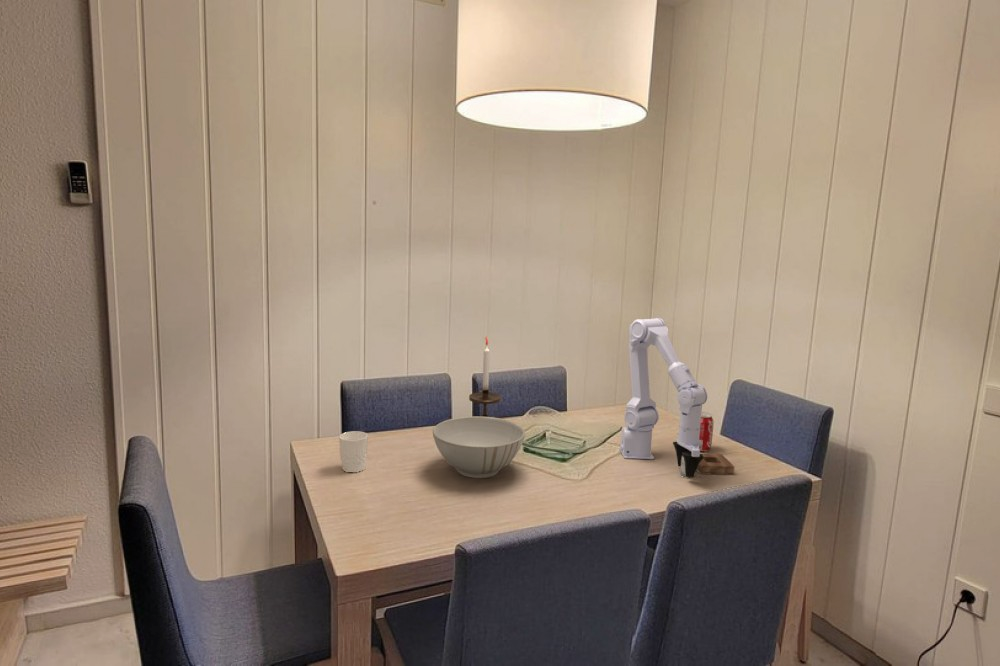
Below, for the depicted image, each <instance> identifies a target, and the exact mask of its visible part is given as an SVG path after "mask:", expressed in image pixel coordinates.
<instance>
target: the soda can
mask: <svg viewBox="0 0 1000 666" xmlns="http://www.w3.org/2000/svg"><path fill="white" fill-rule="evenodd" d="M714 423H715V421H714V418H713V414H711V413H710V412H705V411H702V412H701V423H700V434H699V441H702V442H703V445H699V450H700V451H706V452H708V451H710V450H711V447H712V443H713V435H714V433H713V432H714Z"/></svg>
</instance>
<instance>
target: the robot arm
mask: <svg viewBox="0 0 1000 666" xmlns="http://www.w3.org/2000/svg"><path fill="white" fill-rule="evenodd" d="M628 329H629V331H628V332H629V340H628V353H629V368H630V369H629V370H630V381H631V382H630V384H631V399H630V400H629V401H628V402H627V403H626V404H625V412H624V421H625V425H626V427H622V428H621V432H620V445H619V451H620V453H621V455H622V457H623V458H624V459H637V460H640V459H643V460H655V456H654V455H653V453H651V451H652V440H653V429H655V425H656V424H657V423H658V422H659V418H660V417H659V416H660V415H659V412H658V410H657V406H656V401H654V400H653V399H652V398H651V394H650V382H649V381H650V380H649V378H650V377H649V364H648V361H649V360H648V348H650V346H651V345H652V346H655V347H656V349H657V350H658V352H659V353H660V354H661V357H662V358H663V359H664V361H665V362H666V365H668V371H667V373H668V376H669V377H670V379H671V381H672V383H673V385H674V386H675V388H676V390H677V392H678V394H677V395H676V398H677V399H676V400H677V402H678V405H679V410H680V413H679V414H680V415H679V427H678V432H677V434H676V435H677V436H676V439H677V440H676V441H673V442H672V444H673V447H674V450H675V454H676V460H677V466H678V467H679V468H681V458H682V455H683V458H684V462H685V473H686V476H687V477H690V478H694V476H695V474H696V471H697V467H698V465H699V463H700V462H701V460H702V459H703V455H702V454H703V453H701V452H700V450H699V445H703V442H702V441H699V434H700V423H701V412H703V405H705V403H706V402H707V401H708V393H707V390H706V388H705V387H704V386H702V385H701V384H700V383H699V382H697V381H696V380H695V378H694V376H693V374H692V372H691V371H690V367H689V366H688V365H687V364H686V363H684V362H681V361H680V359H679V357H678V354H677V351H676V349H675V348H674V346H673V343H672V342H671V339H670V337H669V328H668V327H667V325H666V322H665V321H664V319H662V318H660V317H655V318H644V319H640V318H638V319H634V321H633V322H632V323H631V324H630V325H629V327H628Z"/></svg>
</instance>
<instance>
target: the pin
mask: <svg viewBox="0 0 1000 666" xmlns="http://www.w3.org/2000/svg"><path fill="white" fill-rule="evenodd" d="M680 475H681V476H683V477H682V478H684V477H687V476H686V473H685V462H684V458H683V455H682V458H681V467H680V471H679V476H680ZM681 476H680V477H681Z"/></svg>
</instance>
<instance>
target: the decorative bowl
mask: <svg viewBox="0 0 1000 666" xmlns="http://www.w3.org/2000/svg"><path fill="white" fill-rule="evenodd" d="M432 435H433V436H432V437H433V439H434V443H435V445H436V447H437V450H438V451H439V453H440V454H441V457H442V458H443V459H444V460H445V461H446V462H447V463H448V464H449V465H451V466H452V467H453V468H454V469H456V470H457V472H458V473H459V475H461V476H464V477H468V478H471V479H472V478H474V479H484V478H486V479H487V478H490V477H493V476H496V475H497V474H498V473H499V471H500V470H502V469H504V468H505V467H506V466H507V465H508V464H510V463H511V462H512V461H513V460H514V459H515V458H516V456H517V455H518V453H519V452H520V450H521V448H522V446H523V443H524V440H525V436H526V431H525V429H524V428H523V426H521V425H520V424H518V423H516V422H515V421H511V420H509V419H505V418H504V419H503V418H500V417H494V416H489V417H482V416H481V415H479V416H476V415H475V416H460V417H454V418H450V419H446V420H444V421H441V422H439V423H438V424H436V425H435V426H434V428H433V429H432Z"/></svg>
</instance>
